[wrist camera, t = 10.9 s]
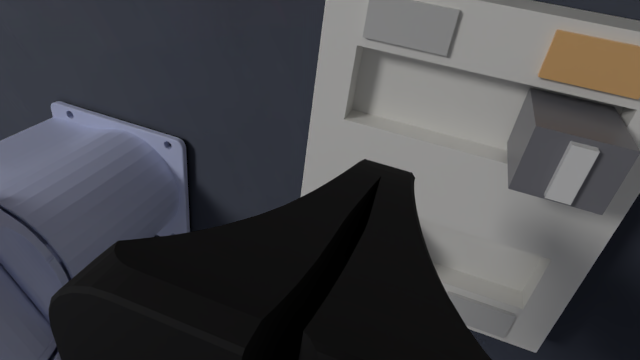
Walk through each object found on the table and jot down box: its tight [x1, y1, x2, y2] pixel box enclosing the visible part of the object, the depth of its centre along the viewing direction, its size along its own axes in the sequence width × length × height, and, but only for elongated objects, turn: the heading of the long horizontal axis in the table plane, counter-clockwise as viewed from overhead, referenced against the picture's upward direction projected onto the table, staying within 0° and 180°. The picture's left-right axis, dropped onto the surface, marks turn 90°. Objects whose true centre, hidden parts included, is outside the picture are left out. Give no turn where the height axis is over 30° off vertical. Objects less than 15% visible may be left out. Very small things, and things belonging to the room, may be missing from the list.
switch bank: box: [301, 0, 640, 353], centre depth 20 cm, size 13×15×3 cm
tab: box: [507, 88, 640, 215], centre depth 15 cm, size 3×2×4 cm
